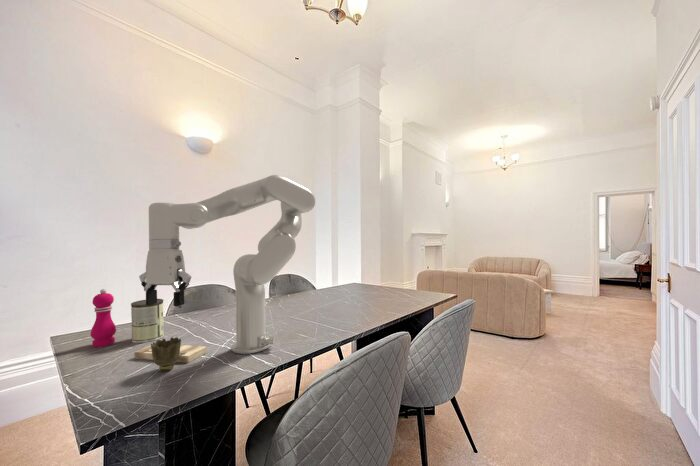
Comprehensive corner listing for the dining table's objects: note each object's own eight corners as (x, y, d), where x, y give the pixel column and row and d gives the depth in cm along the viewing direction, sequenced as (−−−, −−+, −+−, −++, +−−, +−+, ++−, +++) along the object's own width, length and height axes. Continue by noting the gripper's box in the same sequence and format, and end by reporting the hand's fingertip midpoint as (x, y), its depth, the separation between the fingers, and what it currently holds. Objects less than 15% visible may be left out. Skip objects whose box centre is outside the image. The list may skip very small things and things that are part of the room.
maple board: (206, 352, 98) (206, 346, 98) (188, 362, 90) (188, 355, 90) (156, 349, 103) (156, 342, 103) (134, 358, 95) (134, 351, 95)
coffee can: (129, 338, 114) (128, 301, 115) (160, 332, 122) (159, 297, 122) (134, 345, 107) (133, 305, 107) (167, 338, 114) (166, 300, 115)
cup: (148, 377, 81) (148, 347, 81) (153, 366, 88) (153, 339, 88) (179, 371, 84) (179, 343, 84) (182, 362, 91) (182, 335, 91)
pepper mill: (85, 346, 107) (85, 290, 107) (108, 339, 114) (108, 286, 114) (98, 348, 104) (97, 291, 105) (120, 341, 111) (120, 287, 111)
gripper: (199, 244, 89) (199, 302, 88) (151, 245, 93) (152, 301, 93) (178, 245, 81) (179, 308, 81) (128, 246, 86) (129, 306, 85)
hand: (165, 304), depth 87 cm, fingers open, 9 cm apart
